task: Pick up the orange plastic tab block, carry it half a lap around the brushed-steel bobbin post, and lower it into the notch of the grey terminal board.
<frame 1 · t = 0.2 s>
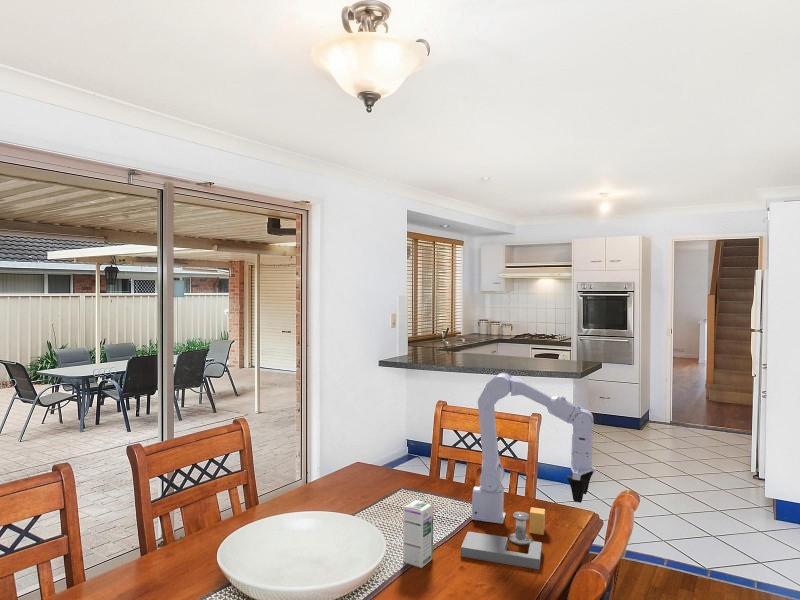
hand: (580, 497, 165), 10 cm above the table, tool pointing down, fingers open, 7 cm apart
syrup box: (417, 561, 145), on the table
bobbin post: (520, 540, 158), on the table
tab block: (536, 531, 164), on the table
terminal board: (501, 554, 150), on the table
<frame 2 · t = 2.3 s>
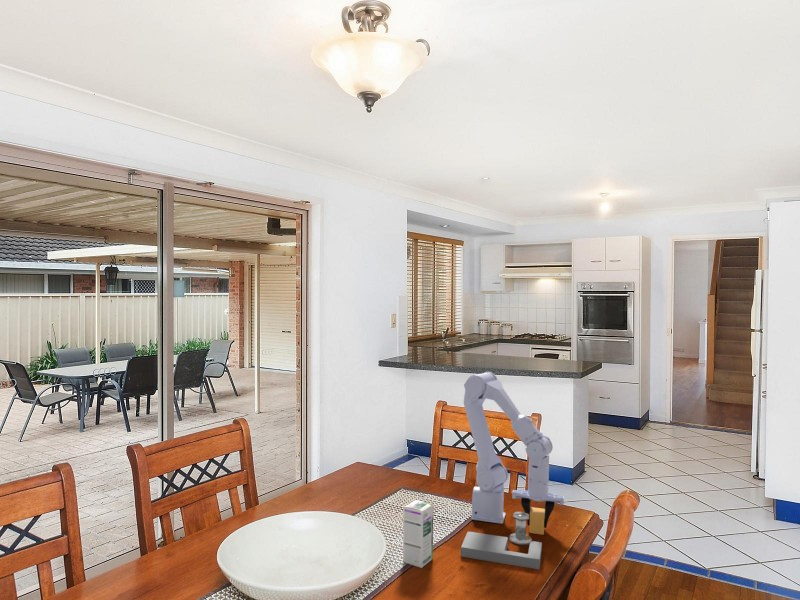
hand: (537, 525, 164), 2 cm above the table, tool pointing down, fingers closed on tab block, 4 cm apart
tab block: (537, 530, 164), on the table, touching gripper
everything else where it was.
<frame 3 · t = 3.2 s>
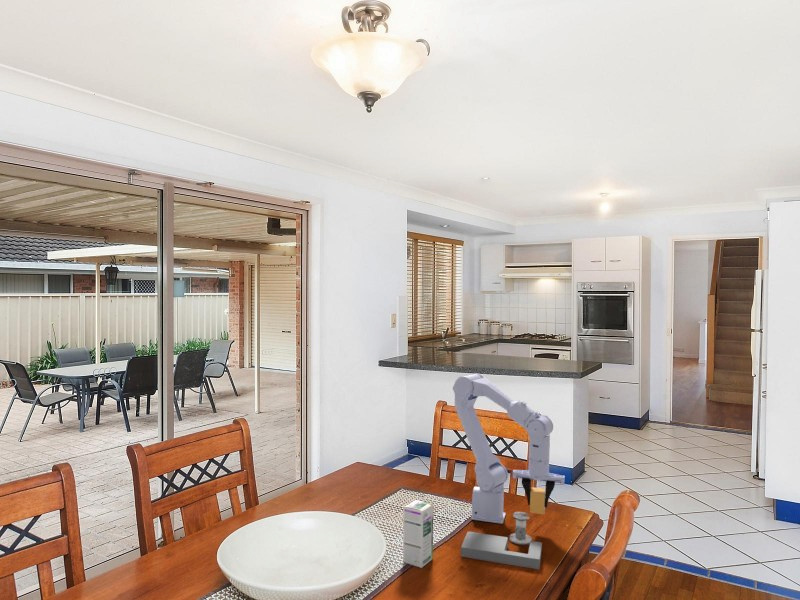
hand: (537, 505, 164), 8 cm above the table, tool pointing down, fingers closed on tab block, 4 cm apart
tab block: (537, 510, 164), point 6 cm above the table, touching gripper
everything else where it was.
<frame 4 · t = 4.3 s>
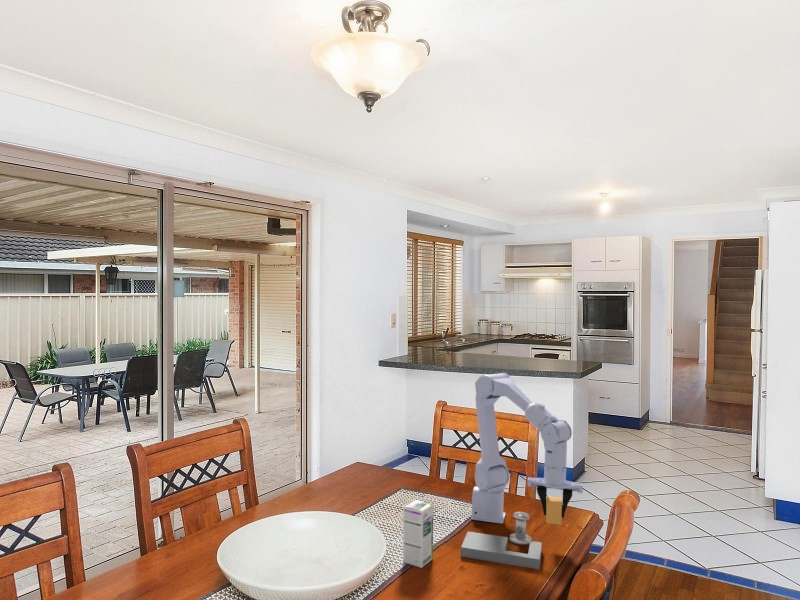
hand: (553, 515, 155), 9 cm above the table, tool pointing down, fingers closed on tab block, 4 cm apart
tab block: (553, 520, 155), point 7 cm above the table, touching gripper
everything else where it was.
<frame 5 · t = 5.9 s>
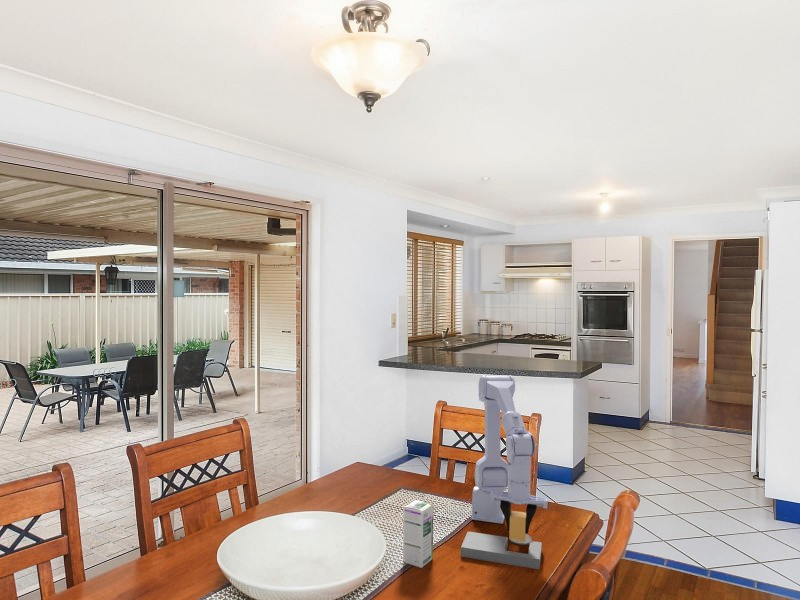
hand: (517, 531, 149), 7 cm above the table, tool pointing down, fingers closed on tab block, 4 cm apart
tab block: (517, 537, 149), point 5 cm above the table, touching gripper
everything else where it was.
when the fingers open (4 cm above the table, at t = 6.8 s): tab block drops 2 cm, resting in terminal board.
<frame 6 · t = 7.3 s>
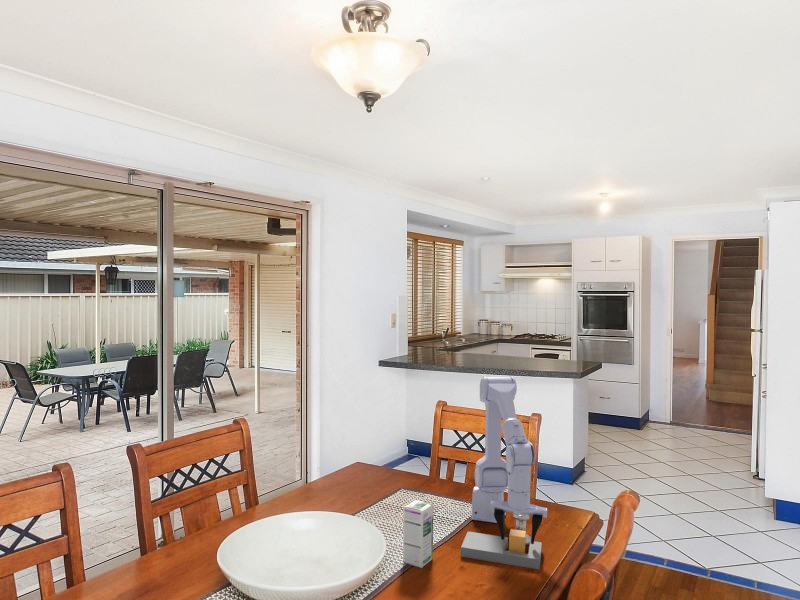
hand: (517, 540, 149), 4 cm above the table, tool pointing down, fingers open, 7 cm apart
tab block: (517, 555, 149), resting in terminal board
everything else where it was.
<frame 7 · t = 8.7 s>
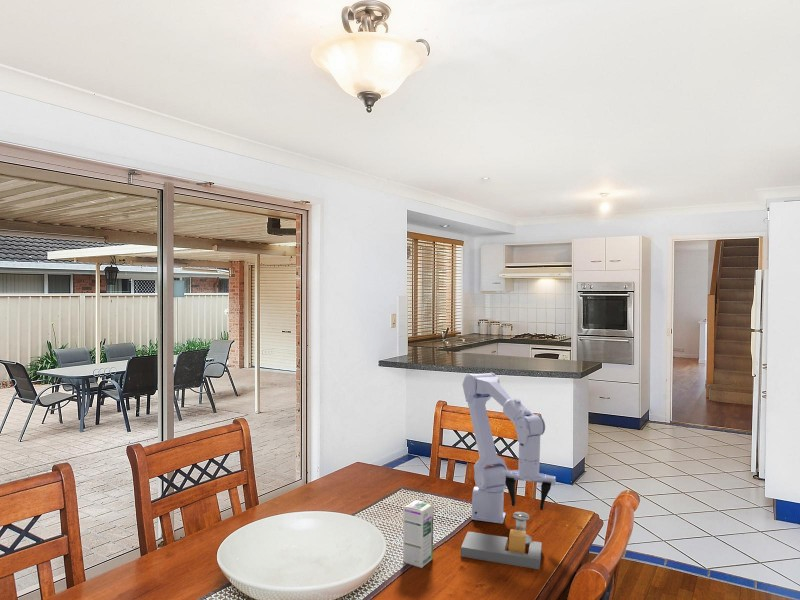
hand: (527, 506, 158), 9 cm above the table, tool pointing down, fingers open, 7 cm apart
nothing on the table moved.
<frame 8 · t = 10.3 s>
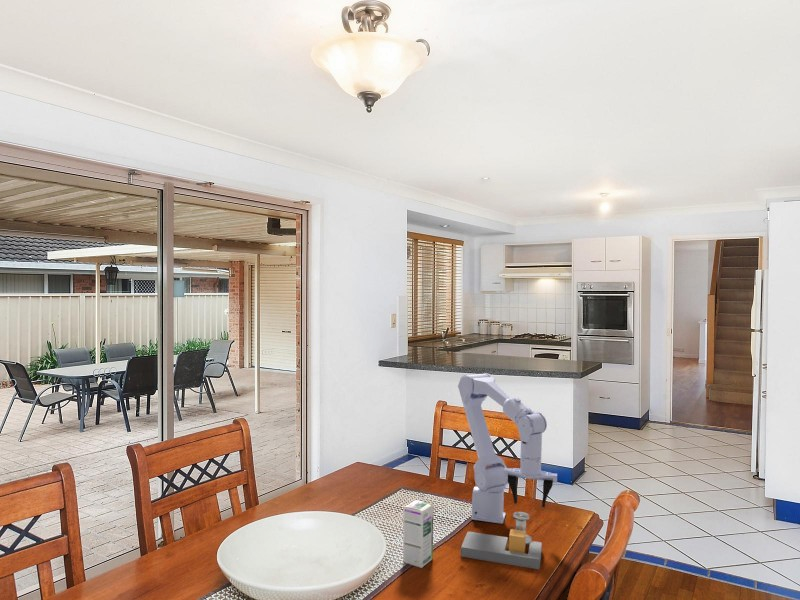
hand: (529, 504, 160), 9 cm above the table, tool pointing down, fingers open, 7 cm apart
nothing on the table moved.
at the end: tab block 0.4 cm from the target spot on the terminal board, point 0.0 cm above the terminal board's base; tab block tilted 0°; the gripper is holding nothing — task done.
